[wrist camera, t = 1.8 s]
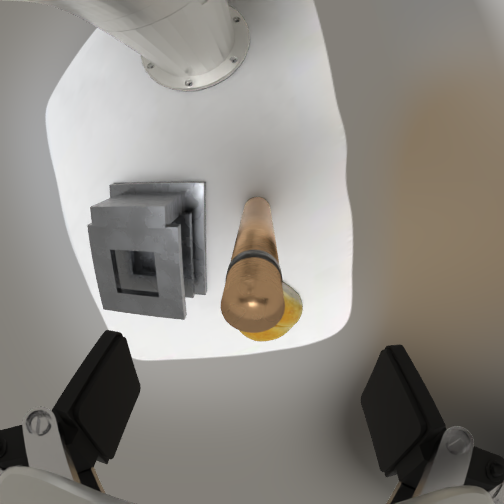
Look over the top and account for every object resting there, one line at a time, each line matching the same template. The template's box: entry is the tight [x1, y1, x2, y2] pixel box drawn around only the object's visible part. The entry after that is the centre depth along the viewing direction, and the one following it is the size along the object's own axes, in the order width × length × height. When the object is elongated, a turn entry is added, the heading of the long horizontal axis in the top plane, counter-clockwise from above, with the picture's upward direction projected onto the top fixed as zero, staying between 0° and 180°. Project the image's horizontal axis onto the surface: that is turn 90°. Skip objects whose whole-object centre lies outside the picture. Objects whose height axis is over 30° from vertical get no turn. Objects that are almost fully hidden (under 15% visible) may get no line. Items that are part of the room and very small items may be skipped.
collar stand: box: [88, 182, 207, 320], centre depth 29 cm, size 14×12×8 cm
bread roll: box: [239, 282, 303, 341], centre depth 34 cm, size 8×9×4 cm
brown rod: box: [221, 197, 285, 333], centre depth 22 cm, size 3×3×20 cm
